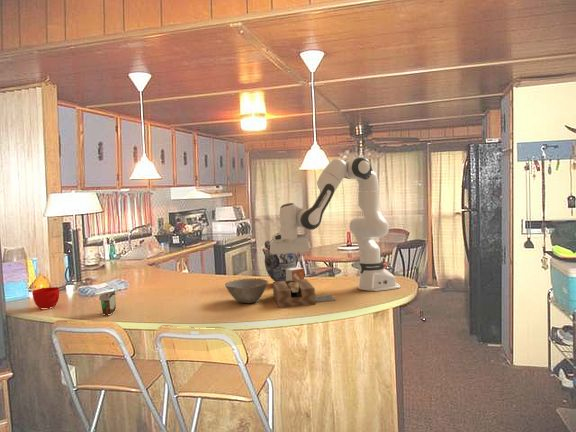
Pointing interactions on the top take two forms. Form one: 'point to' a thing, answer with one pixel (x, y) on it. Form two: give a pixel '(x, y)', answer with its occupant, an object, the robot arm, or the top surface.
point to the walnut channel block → (297, 299)
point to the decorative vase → (278, 264)
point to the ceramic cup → (46, 297)
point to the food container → (108, 302)
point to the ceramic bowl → (246, 289)
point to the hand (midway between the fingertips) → (290, 262)
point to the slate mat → (324, 298)
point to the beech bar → (293, 286)
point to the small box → (294, 274)
